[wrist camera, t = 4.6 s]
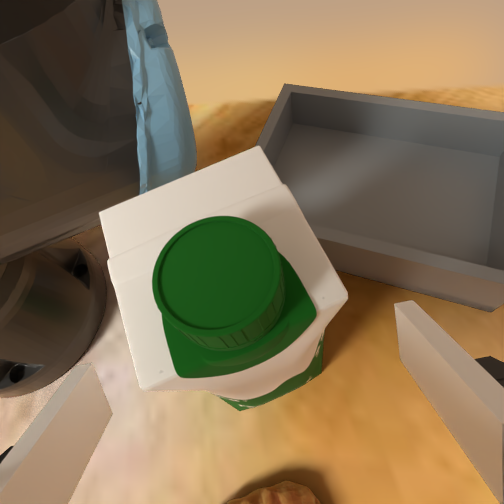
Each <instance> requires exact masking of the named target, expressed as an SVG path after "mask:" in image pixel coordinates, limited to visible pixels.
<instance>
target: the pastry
mask: <svg viewBox="0 0 504 504" xmlns="http://www.w3.org/2000/svg"><path fill="white" fill-rule="evenodd" d="M226 504H320V502H319V501H318V499H317V498H316V497H315V496H314V494H313V493H312V491H311V490H310V489H309V488H308V487H306V486H304V485H300V484H297V483H294V482H291V481H283V482H281V483H278V484H276V485H274V486H272V487H266V488H259V489H257V490H255V491H253V492H251V493H250V494H249V495H247V496H244V497H242V498H238V499H233V500H230V501H228V502H227V503H226Z"/></svg>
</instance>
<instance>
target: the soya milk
mask: <svg viewBox="0 0 504 504" xmlns="http://www.w3.org/2000/svg"><path fill="white" fill-rule="evenodd" d="M99 216H100V220H101V225H102V229H103V233H104V237H105V241H106V245H107V249H108V254H109V258H110V259H108V260H107V264H108V269H109V273H110V277H111V281H112V284H113V286H114V288H115V292H116V296H117V301H118V305H119V308H120V312H121V316H122V320H123V324H124V328H125V332H126V336H127V340H128V344H129V348H130V352H131V356H132V360H133V364H134V368H135V372H136V376H137V379H138V383H139V387H140V388H141V389H142V390H143V391H145V392H150V391H207V392H209V393H212V394H214V395H216V396H218V397H219V398H221V399H222V400H224V401H225V402H227V403H228V404H230V405H231V406H233V407H234V408H236V409H237V410H239V411H242V410H246V409H249V408H253V407H257V406H260V405H263V404H265V403H267V402H269V401H272V400H274V399H276V398H278V397H281V396H283V395H285V394H287V393H289V392H291V391H293V390H295V389H297V388H299V387H301V386H303V385H304V384H306V383H307V382H309V381H310V380H312V379H313V378H315V377H316V376H318V375H319V374H321V373H322V358H323V341H324V334H325V327H326V326H327V325H328V324H329V322H330V321H331V320H332V319H333V317H334V316H335V315H336V313H337V312H338V311H339V310H340V308H341V307H342V306H343V305H344V303H345V302H346V301H347V300H348V292H347V290H346V288H345V287H344V285H343V283H342V282H341V280H340V278H339V276H338V275H337V273H336V271H335V269H334V268H333V266H332V264H331V262H330V261H329V259H328V257H327V255H326V254H325V252H324V250H323V249H322V247H321V245H320V243H319V242H318V240H317V238H316V236H315V235H314V233H313V231H312V230H311V228H310V226H309V224H308V223H307V221H306V219H305V217H304V215H303V213H302V211H301V209H300V208H299V206H298V204H297V202H296V200H295V198H294V197H293V195H292V193H291V192H290V190H289V188H288V187H287V185H286V184H282V182H281V181H280V179H279V177H278V175H277V174H276V172H275V170H274V169H273V167H272V165H271V164H270V162H269V160H268V159H267V157H266V155H265V153H264V152H263V150H262V149H261V147H260V146H256V147H253V148H251V149H248V150H246V151H244V152H241V153H239V154H237V155H234V156H232V157H229V158H227V159H225V160H222V161H220V162H217V163H215V164H213V165H210V166H208V167H206V168H203V169H201V170H198V171H196V172H194V173H191V174H189V175H186V176H184V177H182V178H179V179H177V180H175V181H172V182H170V183H167V184H165V185H163V186H160V187H158V188H155V189H153V190H151V191H148V192H146V193H144V194H141V195H139V196H136V197H134V198H132V199H129V200H127V201H124V202H122V203H120V204H117V205H115V206H113V207H110V208H108V209H105V210H103V211H101V212H99Z"/></svg>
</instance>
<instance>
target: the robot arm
mask: <svg viewBox="0 0 504 504" xmlns="http://www.w3.org/2000/svg"><path fill="white" fill-rule="evenodd" d="M196 165H197V150H196V142H195V136H194V131H193V126H192V121H191V116H190V112H189V108H188V104H187V100H186V96H185V92H184V88H183V84H182V80H181V77H180V73H179V69H178V66H177V63H176V59H175V56H174V53H173V50H172V49H171V47H170V45H169V44H168V36H167V33H166V30H165V27H164V24H163V19H162V15H161V11H160V8H159V5H158V2H157V0H0V398H9V397H17V396H21V395H25V394H28V393H31V392H34V391H36V390H38V389H40V388H43V387H44V386H46V385H48V384H50V383H51V382H53V381H54V380H56V379H57V378H59V377H60V376H61V375H63V374H64V373H65V372H66V371H67V370H68V369H69V368H71V367H72V366H73V365H74V364H75V362H76V361H77V360H78V359H79V358H80V357H81V356H82V354H83V353H84V352H85V350H86V349H87V348H88V346H89V345H90V343H91V341H92V340H93V338H94V336H95V334H96V332H97V330H98V328H99V326H100V323H101V320H102V317H103V314H104V309H105V304H106V283H105V278H104V274H103V271H102V269H101V267H100V265H99V263H98V262H97V260H96V259H95V258H94V257H93V255H92V254H90V253H89V252H88V251H87V250H86V249H85V248H83V247H82V246H81V245H80V244H79V243H77V242H76V241H74V240H73V239H71V238H70V237H72V236H75V235H77V234H79V233H82V232H84V231H87V230H89V229H92V228H94V227H97V226H99V225H101V220H100V216H99V212H101V211H103V210H105V209H108V208H110V207H113V206H115V205H117V204H120V203H122V202H124V201H127V200H129V199H132V198H134V197H136V196H139V195H141V194H144V193H146V192H148V191H151V190H153V189H155V188H158V187H160V186H163V185H165V184H167V183H170V182H172V181H175V180H177V179H179V178H182V177H184V176H186V175H189V174H191V173H194V172H195V168H196ZM394 306H395V316H396V325H397V334H398V344H399V353H400V360H401V362H402V363H403V365H404V366H405V367H406V369H407V370H408V372H409V373H410V375H411V376H412V377H413V379H414V380H415V382H416V383H417V385H418V386H419V388H420V389H421V390H422V392H423V393H424V395H425V396H426V398H427V399H428V401H429V402H430V403H431V405H432V406H433V408H434V409H435V411H436V412H437V413H438V415H439V416H440V418H441V419H442V421H443V422H444V424H445V425H446V426H447V428H448V429H449V431H450V432H451V434H452V435H453V436H454V438H455V439H456V441H457V442H458V444H459V445H460V447H461V448H462V449H463V451H464V452H465V454H466V455H467V457H468V458H469V460H470V461H471V462H472V464H473V465H474V467H475V468H476V470H477V471H478V472H479V474H480V475H481V477H482V478H483V480H484V481H485V483H486V484H487V485H488V487H489V488H490V490H491V491H492V493H493V494H494V496H495V497H496V498H497V500H498V501H499V503H500V504H504V362H502V361H499V360H497V359H495V358H493V357H491V356H489V357H483V358H478V359H473V358H472V357H471V356H470V355H469V354H468V353H467V352H466V351H465V350H464V349H463V348H462V347H461V346H460V345H459V344H458V343H457V342H456V341H455V340H454V339H453V338H452V337H451V336H450V335H449V334H448V333H446V332H445V331H444V330H443V329H442V328H441V327H440V326H439V325H438V324H437V323H436V322H435V321H434V320H433V319H432V318H431V317H430V316H429V315H428V314H427V313H426V312H425V311H424V310H423V309H422V308H421V307H420V306H419V305H417V304H416V303H415V302H414V301H413V300H410V301H404V302H399V303H394ZM112 414H113V413H112V411H111V408H110V406H109V404H108V401H107V399H106V396H105V394H104V391H103V389H102V386H101V384H100V381H99V379H98V376H97V374H96V371H95V369H94V366H93V364H92V363H88V364H83V365H78V366H75V367H74V368H73V370H72V371H71V372H70V374H69V375H68V376H67V378H66V379H65V380H64V382H63V383H62V384H61V385H60V387H59V388H58V389H57V391H56V392H55V393H54V395H53V396H52V397H51V398H50V400H49V401H48V402H47V404H46V405H45V406H44V408H43V409H42V410H41V411H40V413H39V414H38V415H37V417H36V418H35V419H34V421H33V422H32V423H31V425H30V426H29V427H28V428H27V430H26V431H25V432H24V434H23V435H22V436H21V438H20V439H19V440H18V441H17V443H16V444H15V445H14V446H11V447H9V448H8V449H7V450H6V451H5V452H4V453H3V454H1V455H0V504H68V503H69V501H70V499H71V497H72V495H73V493H74V491H75V489H76V487H77V485H78V483H79V481H80V479H81V477H82V474H83V472H84V470H85V468H86V466H87V464H88V462H89V460H90V458H91V456H92V454H93V452H94V450H95V448H96V446H97V444H98V442H99V440H100V438H101V436H102V434H103V432H104V430H105V428H106V426H107V424H108V422H109V420H110V418H111V416H112Z"/></svg>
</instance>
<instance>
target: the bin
mask: <svg viewBox="0 0 504 504" xmlns="http://www.w3.org/2000/svg"><path fill="white" fill-rule="evenodd" d="M256 146H260V147H261V149H262V150H263V152H264V153H265V155H266V157H267V159H268V160H269V162H270V164H271V165H272V167H273V169H274V170H275V172H276V174H277V175H278V177H279V179H280V181H281V182H282V184H286V185H287V187H288V188H289V190H290V192H291V193H292V195H293V197H294V198H295V200H296V202H297V204H298V206H299V208H300V209H301V211H302V213H303V215H304V217H305V219H306V221H307V223H308V224H309V226H310V228H311V230H312V231H313V233H314V235H315V236H316V238H317V240H318V242H319V243H320V245H321V247H322V249H323V250H324V252H325V254H326V255H327V257H328V259H329V261H330V262H331V264H332V266H333V268H334V269H335V270H337V271H341V272H345V273H348V274H352V275H356V276H359V277H363V278H367V279H370V280H374V281H378V282H381V283H385V284H389V285H392V286H396V287H400V288H403V289H407V290H411V291H414V292H418V293H422V294H425V295H429V296H433V297H436V298H440V299H444V300H447V301H451V302H455V303H458V304H462V305H466V306H469V307H473V308H477V309H480V310H484V311H488V312H492V311H494V310H495V309H497V308H498V307H500V306H501V305H503V304H504V112H496V111H489V110H481V109H474V108H466V107H458V106H451V105H443V104H436V103H428V102H420V101H413V100H405V99H398V98H390V97H382V96H375V95H367V94H360V93H352V92H344V91H336V90H329V89H322V88H313V87H306V86H299V85H291V84H284V86H283V88H282V90H281V92H280V94H279V96H278V98H277V101H276V103H275V105H274V107H273V109H272V111H271V113H270V115H269V118H268V120H267V122H266V124H265V126H264V128H263V130H262V133H261V135H260V137H259V139H258V141H257V143H256V145H255V147H256Z"/></svg>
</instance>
